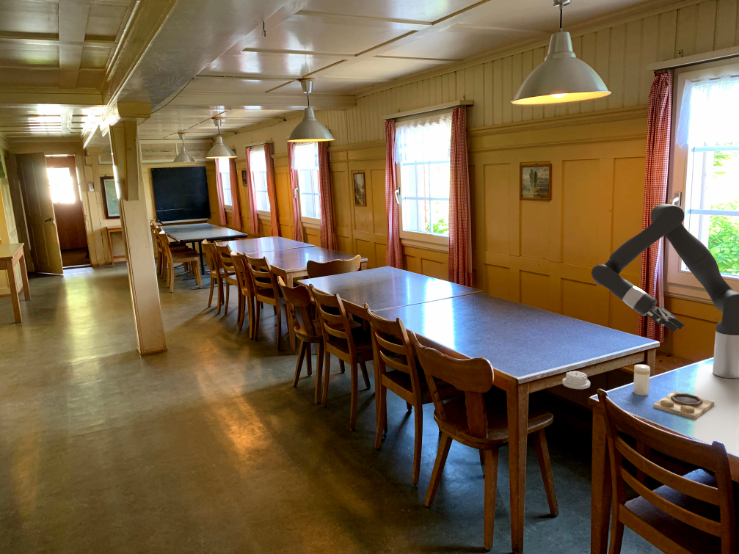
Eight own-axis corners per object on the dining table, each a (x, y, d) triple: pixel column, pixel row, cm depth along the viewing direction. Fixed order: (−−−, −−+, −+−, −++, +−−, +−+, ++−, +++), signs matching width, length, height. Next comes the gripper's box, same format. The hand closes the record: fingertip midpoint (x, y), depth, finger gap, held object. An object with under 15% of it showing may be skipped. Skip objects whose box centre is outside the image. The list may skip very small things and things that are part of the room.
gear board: (674, 394, 193) (674, 388, 192) (714, 405, 183) (714, 398, 182) (653, 407, 183) (653, 401, 183) (694, 419, 173) (695, 413, 173)
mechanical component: (561, 388, 203) (590, 391, 199) (562, 377, 202) (590, 380, 199) (563, 378, 212) (590, 381, 209) (563, 368, 211) (590, 370, 208)
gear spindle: (637, 388, 199) (638, 363, 197) (651, 392, 195) (652, 366, 193) (630, 392, 196) (631, 366, 194) (644, 396, 192) (646, 370, 190)
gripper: (639, 293, 191) (681, 322, 182) (651, 291, 201) (691, 318, 192) (626, 310, 194) (667, 339, 185) (639, 307, 204) (678, 334, 196)
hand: (679, 328), depth 189 cm, fingers open, 8 cm apart
